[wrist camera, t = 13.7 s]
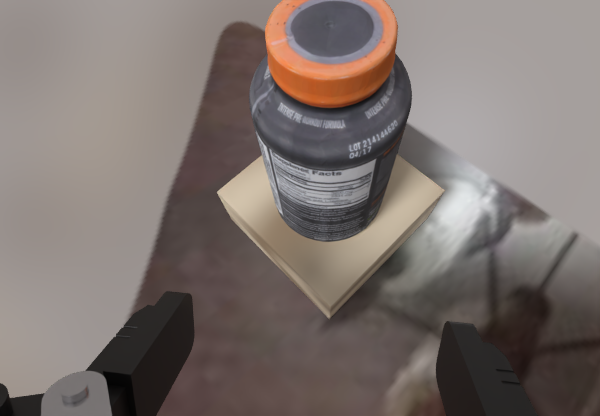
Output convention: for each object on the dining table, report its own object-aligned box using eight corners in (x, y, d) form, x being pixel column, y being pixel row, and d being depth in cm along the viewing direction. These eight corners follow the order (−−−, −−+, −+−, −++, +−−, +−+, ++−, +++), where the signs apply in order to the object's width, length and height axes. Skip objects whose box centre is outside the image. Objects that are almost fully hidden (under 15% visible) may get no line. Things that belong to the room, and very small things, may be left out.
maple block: (427, 218, 25) (444, 190, 21) (329, 319, 23) (330, 306, 19) (327, 137, 28) (327, 100, 24) (231, 219, 26) (216, 192, 22)
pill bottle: (326, 131, 23) (330, -67, 13) (403, 193, 22) (479, 16, 11) (252, 195, 22) (191, 26, 12) (328, 267, 20) (336, 141, 10)
